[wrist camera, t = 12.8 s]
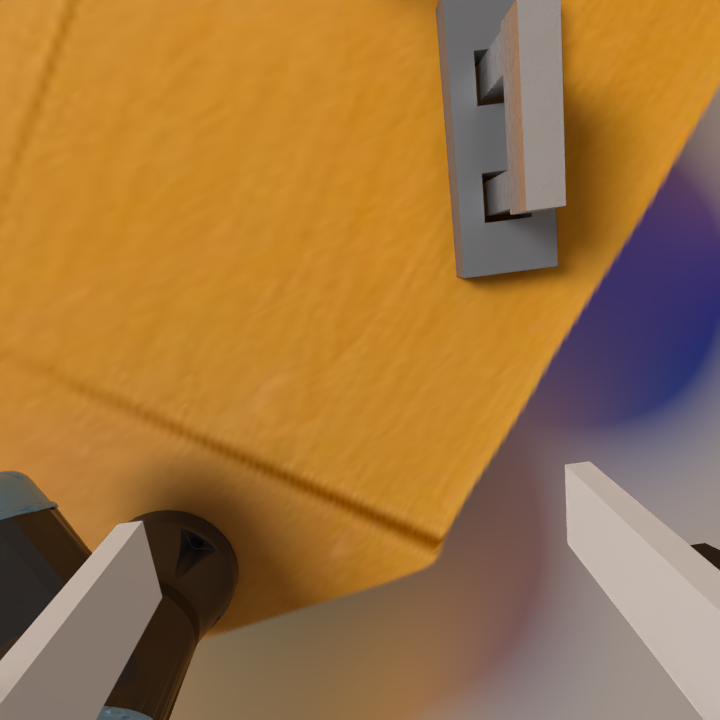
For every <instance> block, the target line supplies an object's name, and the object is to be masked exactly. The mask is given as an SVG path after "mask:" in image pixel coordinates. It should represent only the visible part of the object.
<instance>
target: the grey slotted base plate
mask: <svg viewBox="0 0 720 720" xmlns="http://www.w3.org/2000/svg"><path fill="white" fill-rule="evenodd" d="M514 2H515V0H439V2H438V5H437V8H436V17H437V29H438V42H439V55H440V67H441V80H442V93H443V105H444V118H445V131H446V143H447V156H448V169H449V181H450V194H451V206H452V219H453V232H454V244H455V257H456V270H457V277H460V278H470V277H478V276H485V275H493V274H501V273H508V272H516V271H524V270H532V269H539V268H547V267H555V266H558V250H557V218H556V208H554V209H550V210H545V211H537V212H530V213H522V214H520V219H513V220H505V221H498V222H490V223H485V217H484V201H483V185H482V177H490V176H498V175H500V174H502V173H504V172H505V171H507V170H508V161H507V142H506V123H505V104H504V103H499V104H491V105H483V106H477V92H476V77H475V64H476V63H479V62H480V61H481V59H482V58H483V56H484V55H485V53H486V52H487V50H488V49H489V48H490V46H491V45H492V43H493V42H494V40H495V39H496V37H497V36H498V34H499V33H500V31H501V27H500V23H501V22H502V20H503V19H504V17H505V16H506V14H507V13H508V11H509V9H510V8H511V6H512V5H513V3H514Z"/></svg>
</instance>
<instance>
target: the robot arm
mask: <svg viewBox="0 0 720 720" xmlns="http://www.w3.org/2000/svg"><path fill="white" fill-rule="evenodd" d="M565 481H566V482H565V484H566V511H567V512H566V513H567V542H568V545H569V546H570V547H571V549H572V550H573V551H574V553H576V555H577V556H578V558H579V559H580V560H581V562H582V563H583V564H584V565H585V567H586V568H587V569H588V571H590V573H591V574H592V576H593V577H594V578H595V580H596V581H597V582H598V584H599V585H600V586H601V587H602V589H603V590H604V591H605V593H606V594H607V595H608V596H609V598H610V599H611V600H612V602H613V603H614V604H615V606H616V607H617V608H618V609H619V611H620V612H621V613H622V615H623V616H624V617H625V618H626V620H627V621H628V622H629V624H630V625H631V626H632V627H633V629H634V630H635V631H636V633H637V634H638V635H639V637H640V638H641V639H642V640H643V642H644V643H645V644H646V646H647V647H648V648H649V649H650V651H651V652H652V653H653V655H654V656H655V657H656V659H657V660H658V661H659V662H660V664H661V665H662V666H663V667H664V669H665V670H666V671H667V673H668V674H669V675H670V676H671V678H672V679H673V680H674V682H675V683H676V684H677V686H678V687H679V688H680V690H681V691H682V692H683V693H684V695H685V696H686V697H687V698H688V700H689V701H690V702H691V704H692V705H693V706H694V708H695V709H696V710H697V711H698V713H699V714H700V715H701V717H702V718H703V719H704V720H720V550H718V549H716V548H714V547H712V546H710V545H708V544H706V543H703V544H695V545H689V544H687V543H686V542H685V541H684V540H683V539H681V538H680V537H679V536H678V535H677V534H675V533H674V532H673V531H672V530H671V529H669V528H668V527H667V526H666V525H665V524H664V523H662V522H661V521H660V520H659V519H657V518H656V517H655V516H654V515H653V514H652V513H650V512H649V511H648V510H647V509H646V508H644V507H643V506H642V505H641V504H639V503H638V502H637V501H636V500H635V499H634V498H632V497H631V496H630V495H629V494H627V492H625V491H624V490H623V489H621V487H619V486H618V485H617V484H616V483H615V482H613V481H612V480H611V479H610V478H608V477H607V476H606V475H605V474H604V473H603V472H601V471H600V470H599V469H598V468H597V467H595V466H594V465H593V464H592V463H591V462H582V463H574V464H567V465H565ZM57 507H58V505H57V504H56V503H55V502H52V501H50V500H49V499H48V498H47V497H46V496H45V495H44V493H43V492H42V491H41V490H40V489H39V488H38V487H37V486H36V484H35V483H34V482H33V481H32V480H31V479H30V478H29V477H28V476H26V475H25V474H23V473H20V472H17V471H3V472H0V720H169V718H170V716H171V713H172V710H173V708H174V705H175V702H176V700H177V697H178V694H179V691H180V689H181V686H182V683H183V681H184V678H185V675H186V673H187V670H188V667H189V665H190V662H191V659H192V657H193V654H194V651H195V649H196V646H197V644H198V642H199V641H200V640H201V639H202V638H203V636H204V635H205V634H206V633H207V632H208V630H209V629H210V628H211V627H212V626H213V625H214V624H216V622H217V621H218V620H219V619H220V618H221V617H222V616H223V614H224V613H225V611H226V610H227V608H228V606H229V604H230V602H231V599H232V596H233V593H234V590H235V587H236V584H237V579H238V565H237V560H236V556H235V554H234V551H233V549H232V547H231V545H230V544H229V542H228V541H227V539H226V538H225V537H224V536H223V534H222V533H221V532H220V531H219V530H218V529H216V528H215V527H214V526H213V525H211V524H210V523H208V522H207V521H205V520H203V519H201V518H199V517H197V516H194V515H191V514H188V513H184V512H178V511H156V512H151V513H147V514H144V515H141V516H138V517H136V518H134V519H133V520H131V521H129V522H128V523H122V524H117V526H116V527H115V528H114V529H113V530H112V531H111V533H110V534H109V535H108V536H107V537H106V538H105V540H104V541H103V542H102V543H101V544H100V545H99V547H98V548H97V549H96V550H95V551H94V552H93V554H92V552H91V551H90V550H89V549H88V547H87V546H86V545H85V543H84V542H83V541H82V540H81V538H80V537H79V536H78V534H77V533H76V532H75V531H74V529H73V528H72V527H71V525H70V524H69V523H68V522H67V520H66V519H65V518H64V516H63V515H62V514H61V513H60V511H59V510H58V509H57Z"/></svg>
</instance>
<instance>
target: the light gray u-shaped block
mask: <svg viewBox="0 0 720 720" xmlns="http://www.w3.org/2000/svg"><path fill="white" fill-rule="evenodd" d="M500 27H501V31H500V33H499V34H498V36H497V37H496V39H495V40H494V42H493V43H492V45H491V46H490V48H489V49H488V50H487V52H486V53H485V55H484V56H483V58H482V59H481V61H480V62H479V64H478V65H477V67H476V68H475V77H476V92H477V106H483V105H491V104H499V103H504V104H505V123H506V142H507V161H508V170H507V171H505V172H504V173H502V174H500V175H498V176H496V177H494V178H493V179H491V180H489V181H487V182H485V183H483V184H482V185H483V201H484V217H486V216H494V215H502V214H509V213H510V215H514V214H522V213H530V212H537V211H545V210H550V209H554V208H558V207H563V206H566V184H565V146H564V109H563V72H562V34H561V0H515V2H514V3H513V5H512V6H511V8H510V9H509V11H508V13H507V14H506V16H505V17H504V19H503V20H502V22H501V23H500Z"/></svg>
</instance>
